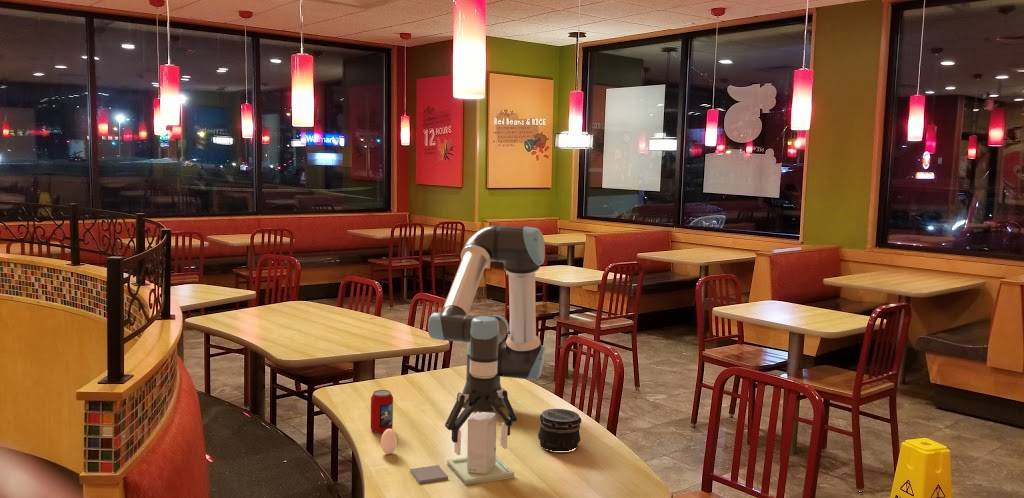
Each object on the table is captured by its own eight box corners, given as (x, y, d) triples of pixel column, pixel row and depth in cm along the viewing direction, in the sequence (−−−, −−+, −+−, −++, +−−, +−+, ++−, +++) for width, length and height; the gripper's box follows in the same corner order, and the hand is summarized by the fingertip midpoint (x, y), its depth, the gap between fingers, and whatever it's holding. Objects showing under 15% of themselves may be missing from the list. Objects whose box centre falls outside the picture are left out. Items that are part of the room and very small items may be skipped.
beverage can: (388, 435, 241) (388, 396, 239) (367, 432, 242) (367, 394, 240) (395, 427, 247) (396, 390, 246) (375, 425, 249) (375, 388, 247)
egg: (389, 458, 223) (390, 433, 222) (377, 454, 226) (377, 429, 225) (400, 453, 227) (400, 428, 226) (388, 449, 229) (388, 424, 229)
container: (584, 442, 241) (586, 410, 239) (573, 457, 229) (575, 424, 227) (544, 436, 245) (545, 404, 243) (531, 450, 233) (533, 418, 231)
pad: (438, 467, 218) (438, 465, 218) (448, 479, 211) (448, 476, 211) (410, 471, 215) (410, 469, 214) (419, 483, 207) (419, 480, 207)
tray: (493, 458, 226) (493, 453, 226) (514, 477, 213) (514, 472, 213) (447, 465, 220) (447, 459, 220) (465, 485, 207) (465, 479, 207)
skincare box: (486, 475, 212) (488, 422, 210) (465, 472, 213) (467, 419, 211) (496, 464, 220) (497, 412, 218) (475, 461, 221) (477, 409, 219)
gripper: (519, 366, 222) (516, 439, 224) (434, 374, 211) (432, 450, 214) (531, 374, 215) (528, 449, 218) (444, 382, 204) (442, 461, 207)
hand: (480, 450), depth 216 cm, fingers open, 13 cm apart
